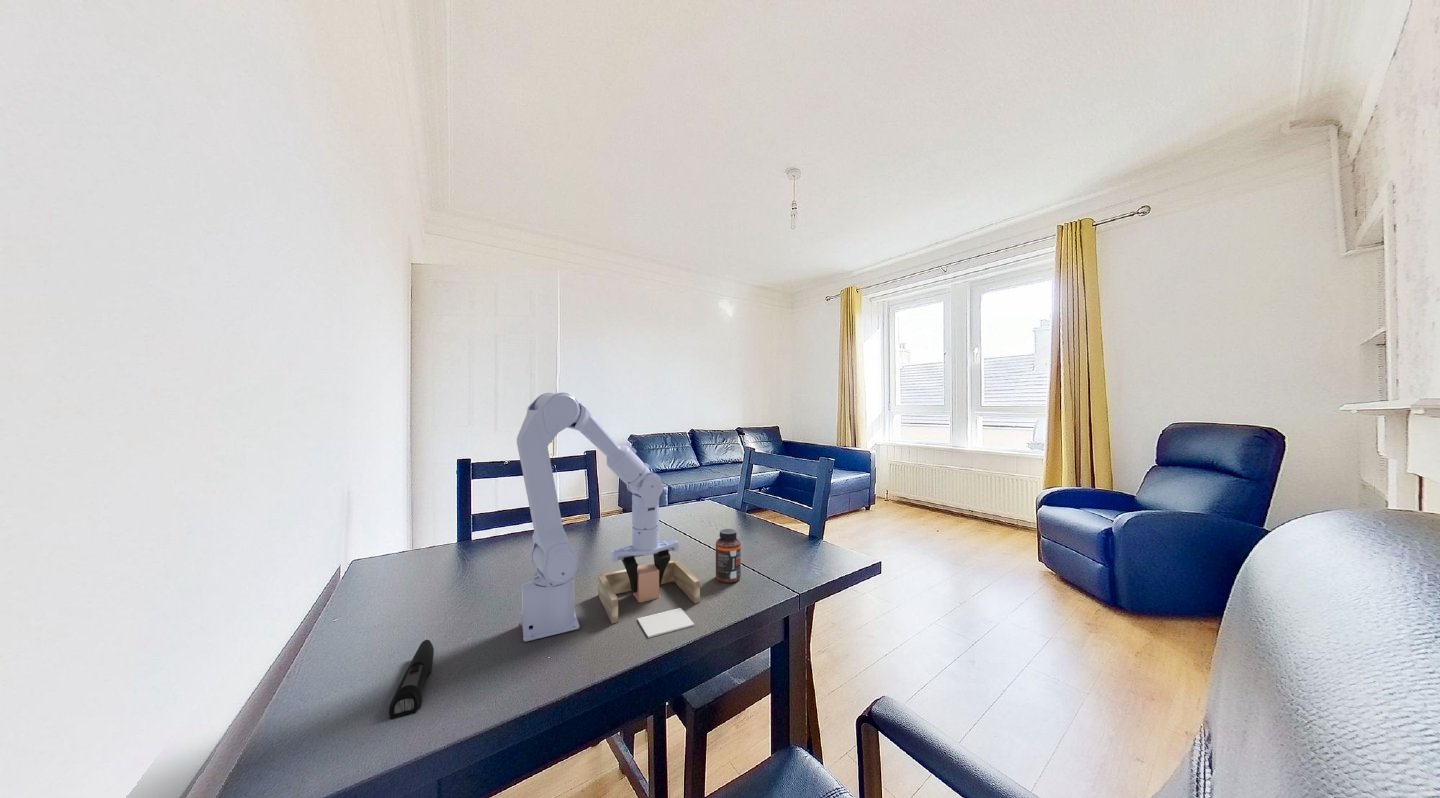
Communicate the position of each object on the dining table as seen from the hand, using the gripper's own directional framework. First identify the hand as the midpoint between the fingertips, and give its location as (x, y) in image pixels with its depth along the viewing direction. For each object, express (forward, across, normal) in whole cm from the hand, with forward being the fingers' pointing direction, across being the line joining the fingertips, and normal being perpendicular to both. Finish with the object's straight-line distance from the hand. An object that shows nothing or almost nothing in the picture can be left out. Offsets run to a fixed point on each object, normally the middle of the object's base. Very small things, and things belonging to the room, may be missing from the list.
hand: (645, 588), depth 93 cm
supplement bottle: (+2, -20, 0) cm, 20 cm away
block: (+2, 0, 0) cm, 2 cm away
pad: (+2, 0, +12) cm, 13 cm away
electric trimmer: (+2, +40, +11) cm, 41 cm away
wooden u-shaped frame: (+2, 0, +2) cm, 2 cm away
